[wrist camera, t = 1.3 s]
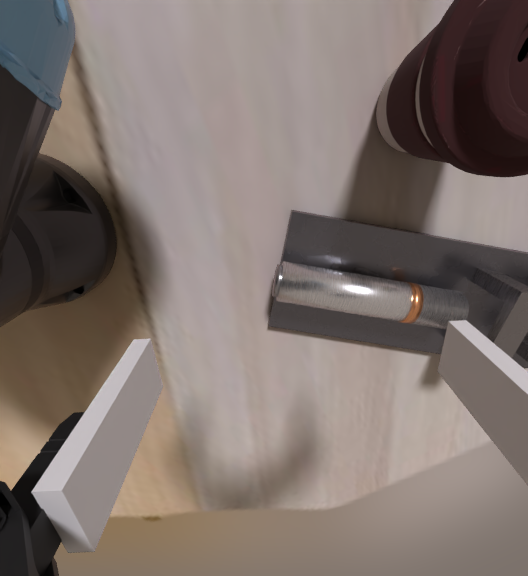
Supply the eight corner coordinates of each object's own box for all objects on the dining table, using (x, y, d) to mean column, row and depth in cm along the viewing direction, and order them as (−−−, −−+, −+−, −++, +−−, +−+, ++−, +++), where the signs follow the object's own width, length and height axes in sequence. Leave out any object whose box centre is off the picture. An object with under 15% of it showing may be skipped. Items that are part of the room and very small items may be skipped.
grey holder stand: (268, 321, 36) (267, 362, 29) (291, 209, 30) (297, 225, 23) (527, 363, 37) (588, 412, 30) (591, 263, 32) (682, 294, 25)
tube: (271, 290, 33) (271, 308, 29) (278, 254, 31) (279, 268, 27) (436, 318, 34) (457, 338, 30) (451, 284, 32) (475, 301, 28)
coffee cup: (484, 138, 28) (696, 120, 14) (377, 186, 29) (470, 212, 16) (463, 12, 24) (719, -181, 10) (344, 75, 26) (425, -17, 12)
